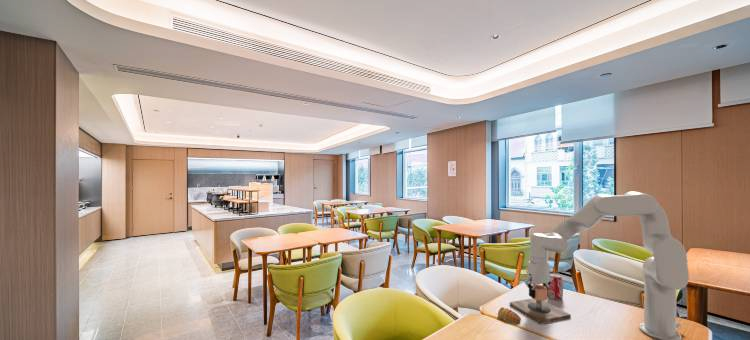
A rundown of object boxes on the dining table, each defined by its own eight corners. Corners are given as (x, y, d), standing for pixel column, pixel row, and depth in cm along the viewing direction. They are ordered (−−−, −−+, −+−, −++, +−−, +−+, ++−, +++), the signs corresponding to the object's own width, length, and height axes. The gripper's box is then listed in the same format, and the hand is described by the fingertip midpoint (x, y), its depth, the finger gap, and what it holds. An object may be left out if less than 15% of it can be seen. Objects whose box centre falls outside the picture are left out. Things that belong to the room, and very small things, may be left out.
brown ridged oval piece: (523, 320, 131) (523, 312, 131) (516, 326, 126) (516, 317, 126) (503, 312, 138) (503, 304, 138) (496, 317, 134) (496, 309, 133)
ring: (538, 293, 143) (538, 283, 143) (550, 299, 136) (550, 289, 136) (526, 294, 141) (526, 284, 141) (538, 301, 134) (538, 290, 134)
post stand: (538, 300, 150) (538, 287, 150) (570, 317, 132) (570, 303, 132) (509, 305, 145) (509, 292, 145) (539, 323, 127) (539, 309, 127)
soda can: (562, 296, 154) (562, 274, 154) (563, 301, 148) (563, 278, 148) (547, 293, 158) (547, 271, 157) (547, 298, 152) (547, 275, 151)
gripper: (546, 255, 144) (546, 290, 145) (518, 258, 139) (517, 294, 140) (560, 260, 137) (559, 297, 137) (530, 263, 132) (530, 301, 133)
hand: (538, 295), depth 139 cm, fingers closed on ring, 7 cm apart
